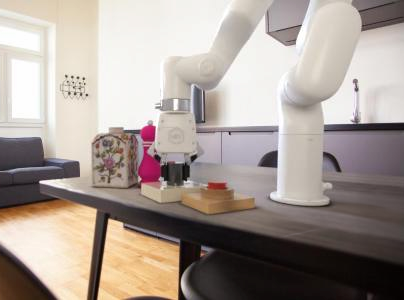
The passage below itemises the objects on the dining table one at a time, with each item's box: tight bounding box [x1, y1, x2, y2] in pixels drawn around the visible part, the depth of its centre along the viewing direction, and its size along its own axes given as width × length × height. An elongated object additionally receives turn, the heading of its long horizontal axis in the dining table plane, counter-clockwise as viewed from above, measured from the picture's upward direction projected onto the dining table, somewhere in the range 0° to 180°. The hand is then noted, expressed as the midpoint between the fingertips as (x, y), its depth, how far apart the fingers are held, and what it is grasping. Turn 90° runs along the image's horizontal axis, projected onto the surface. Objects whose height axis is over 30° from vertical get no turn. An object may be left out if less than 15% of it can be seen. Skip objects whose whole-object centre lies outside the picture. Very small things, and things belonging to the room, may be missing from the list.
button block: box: [181, 184, 255, 215], centre depth 64 cm, size 12×10×4 cm
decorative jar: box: [90, 126, 140, 189], centre depth 91 cm, size 12×12×18 cm
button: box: [207, 179, 228, 190], centre depth 64 cm, size 4×4×2 cm
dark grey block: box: [166, 160, 185, 186], centre depth 74 cm, size 4×4×6 cm
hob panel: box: [140, 179, 207, 204], centre depth 74 cm, size 14×11×3 cm
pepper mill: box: [138, 119, 161, 188], centre depth 87 cm, size 7×7×20 cm
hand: (175, 179), depth 74 cm, fingers closed on dark grey block, 4 cm apart
